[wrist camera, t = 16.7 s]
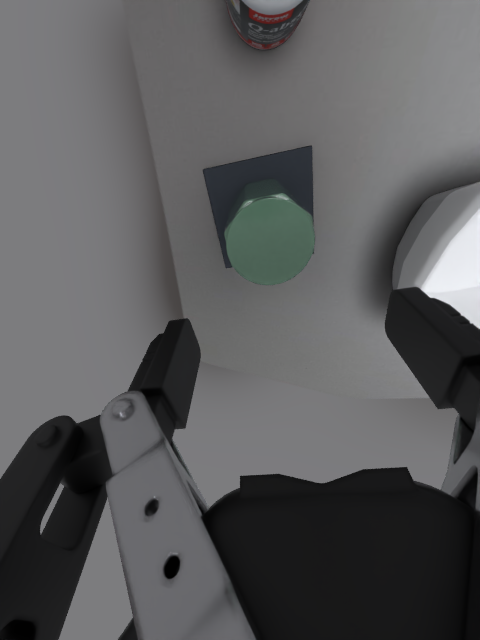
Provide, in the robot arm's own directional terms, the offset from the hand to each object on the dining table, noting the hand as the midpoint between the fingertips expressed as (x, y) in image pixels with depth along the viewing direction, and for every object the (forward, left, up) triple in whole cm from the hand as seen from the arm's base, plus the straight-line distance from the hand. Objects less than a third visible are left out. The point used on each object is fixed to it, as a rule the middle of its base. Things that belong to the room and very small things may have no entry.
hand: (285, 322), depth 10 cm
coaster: (0, 0, -19) cm, 19 cm away
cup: (0, 0, -19) cm, 19 cm away
